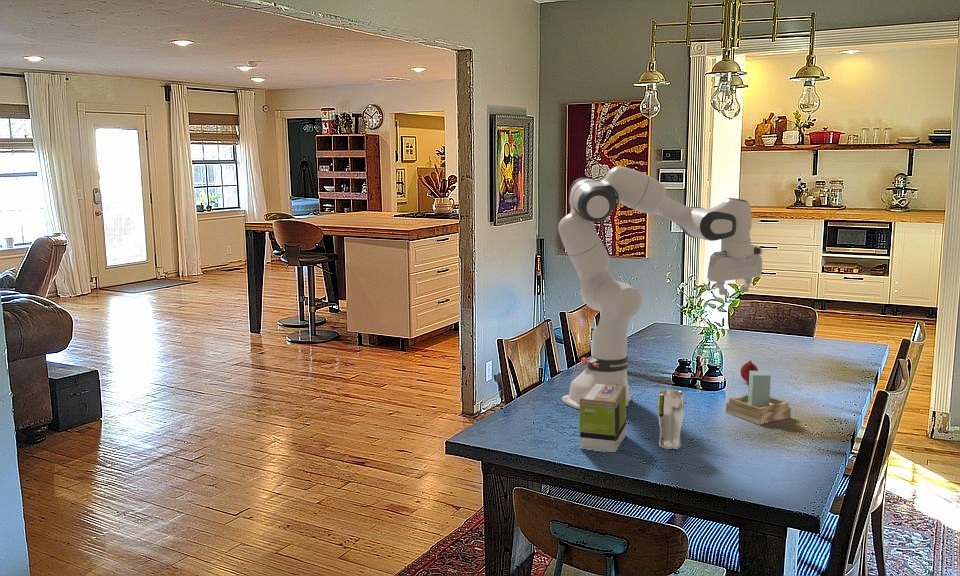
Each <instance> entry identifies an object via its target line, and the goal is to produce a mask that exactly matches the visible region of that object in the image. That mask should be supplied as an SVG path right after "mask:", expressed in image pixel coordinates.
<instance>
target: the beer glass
mask: <svg viewBox="0 0 960 576" xmlns="http://www.w3.org/2000/svg"><path fill="white" fill-rule="evenodd" d="M684 396H685V395H684V392H683V391H681V390H678V389H670V388H669V389H667V388H666V389H662V390H659V391H658V398H657V417H658V424H659V425H658V426H659V437H658V445H659V446H661V447H663V448H669V449H672V448H679V447H682V441H681V440H682V439H681V429H682V425H683V421H684V420H683V419H684V416H685V415H684V414H685V397H684ZM659 446H658V447H659ZM663 448H662V449H663Z"/></svg>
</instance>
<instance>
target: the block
mask: <svg viewBox="0 0 960 576" xmlns="http://www.w3.org/2000/svg"><path fill="white" fill-rule="evenodd" d="M771 379H772V378H771V374H769V372H768V371H767V370H758V371H749V383H748V393H747V394H748V403H749V404H750V405H753V406H756V407H759V408H761V407H765V406H769V398H770V397H771V395H770V394H771Z"/></svg>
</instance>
